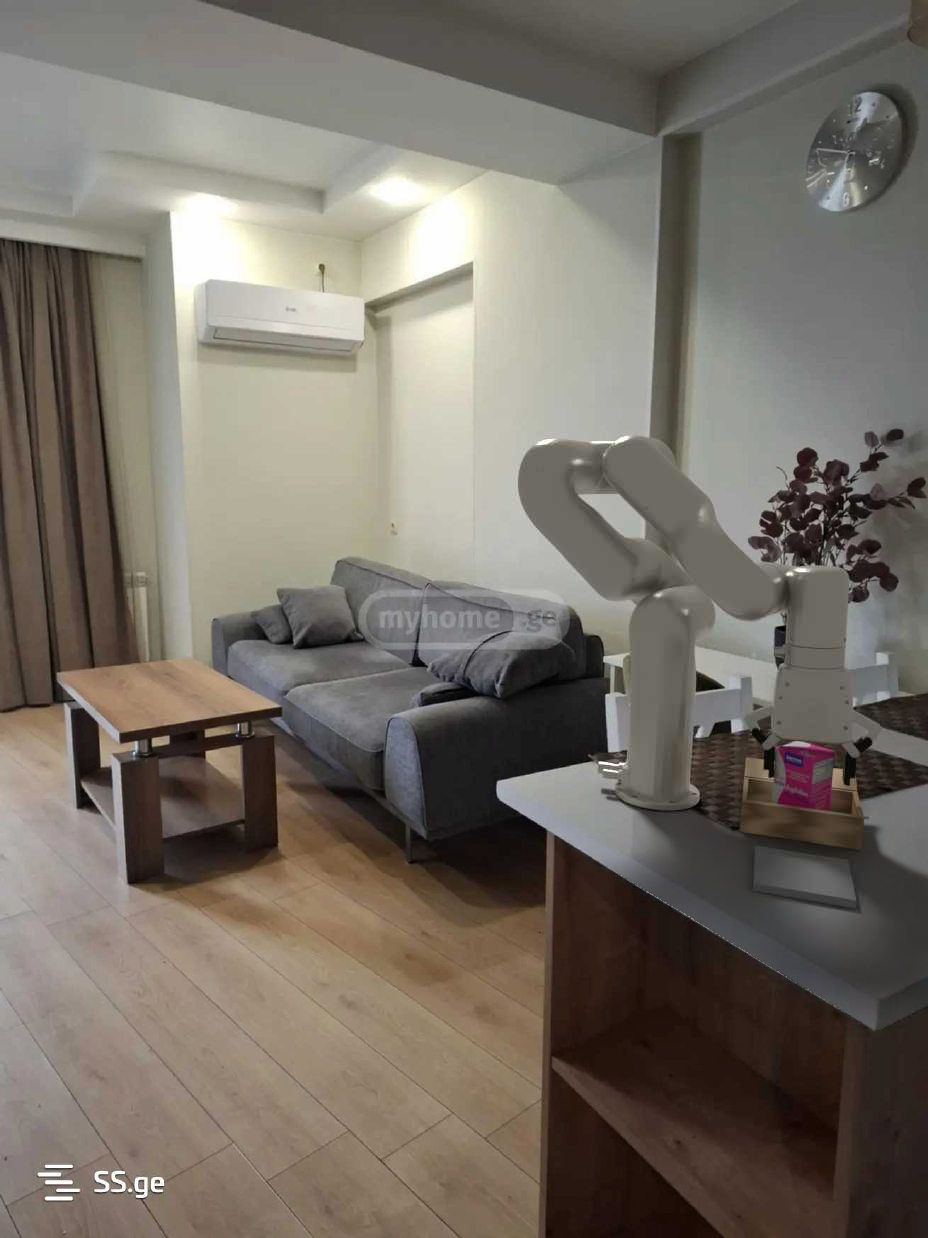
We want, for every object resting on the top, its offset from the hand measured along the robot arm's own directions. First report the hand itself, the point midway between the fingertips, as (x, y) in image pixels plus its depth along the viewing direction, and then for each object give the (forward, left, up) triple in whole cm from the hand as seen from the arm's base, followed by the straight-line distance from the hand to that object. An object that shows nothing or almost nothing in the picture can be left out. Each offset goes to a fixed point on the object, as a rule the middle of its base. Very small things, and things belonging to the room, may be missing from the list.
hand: (808, 778), depth 115 cm
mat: (-1, -17, -7) cm, 18 cm away
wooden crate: (-1, 0, -7) cm, 7 cm away
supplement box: (-1, 0, -7) cm, 7 cm away
